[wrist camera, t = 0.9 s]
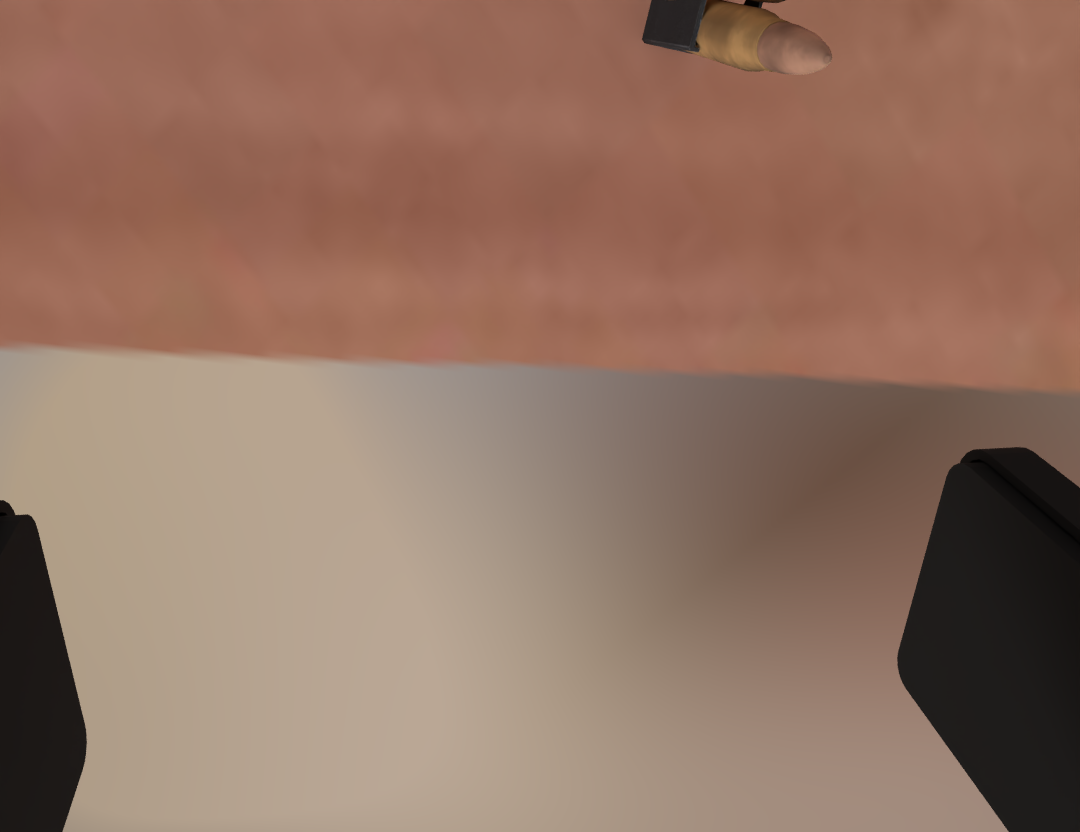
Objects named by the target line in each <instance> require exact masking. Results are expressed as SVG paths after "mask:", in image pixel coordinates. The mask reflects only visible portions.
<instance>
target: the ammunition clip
mask: <svg viewBox="0 0 1080 832" xmlns="http://www.w3.org/2000/svg"><path fill="white" fill-rule="evenodd" d="M782 1H785V0H746V1H745V3H744V5H742V4H737V3H732V2H727V1H722V0H652V1H651V5H650V9H649V13H648V17H647V21H646V25H645V29H644V34H643V38H642V40H643V41H644V43H647V44H651V45H655V46H660V47H664V48H669V49H673V50H677V51H682V52H686V53H691V54H696V55H699V56H702V57H705V58H708V59H711V60H714V61H717V62H720V63H723V64H726V65H729V66H732V67H735V68H738V69H741V70H745V71H764V70H765V71H770V72H779V73H783V74H795V75H803V74H810V73H814V72H817V71H820V70H822V69H824V68H825V67H826V66H828V65H829V64H830V62H831V60H832V54H831V51H830V49H829V47H828V46H827V45H826V43H825V42H824V41H823V40H822V39H821V38H820V37H819V36H818V35H817V34H815V33H813V32H811V31H809V30H807V29H805V28H803V27H801V26H799V25H796V24H792V23H790V22H788V21H785V20H782V19H780V18H779V17H778V16H777V15H776V14H774V13H772V12H770V11H768V10H766V9H763V8H761V7H762V3H763V2H768V3H779V2H782Z"/></svg>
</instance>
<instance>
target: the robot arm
mask: <svg viewBox="0 0 1080 832" xmlns="http://www.w3.org/2000/svg"><path fill="white" fill-rule="evenodd" d="M897 659H898V670H899V674H900V677H901V680H902V682H903V684H904V686H905V688H906V689H907V691H908V692H909V694H910V695H911V696H912V698H913V699H914V700H915V702H916V703H917V704H918V706H919V707H920V709H921V710H922V711H923V713H924V714H925V716H926V717H927V718H928V720H929V721H930V722H931V724H932V726H933V727H934V728H935V730H936V731H937V732H938V734H939V735H940V737H941V738H942V739H943V741H944V742H945V744H946V745H947V746H948V748H949V749H950V751H951V752H952V753H953V755H954V756H955V757H956V759H957V760H958V762H959V763H960V764H961V766H962V767H963V769H964V770H965V771H966V773H967V774H968V776H969V777H970V778H971V780H972V781H973V782H974V784H975V785H976V787H977V788H978V789H979V791H980V792H981V794H982V795H983V796H984V798H985V799H986V801H987V802H988V803H989V805H990V806H991V808H992V809H993V810H994V812H995V813H996V815H997V816H998V817H999V819H1000V820H1001V821H1002V823H1003V824H1004V826H1005V827H1006V828H1007V830H1008V831H1009V832H1080V488H1079V487H1078V486H1077V485H1075V484H1074V483H1073V482H1072V481H1070V480H1069V479H1068V478H1066V477H1065V476H1064V475H1063V474H1061V473H1060V472H1059V471H1057V470H1056V469H1055V468H1054V467H1052V466H1051V465H1050V464H1048V463H1047V462H1046V461H1045V460H1043V459H1042V458H1040V457H1039V456H1038V455H1037V454H1036V453H1034V452H1033V451H1031V450H1029V449H1027V448H1020V447H1014V448H997V449H996V448H995V449H976V450H972V451H970V452H968V453H967V454H966V455H965V456H964V457H963V458H962V460H961V462H960V463H958V464H956V465H954V466H953V467H952V468H951V469H950V470H949V472H948V475H947V477H946V481H945V485H944V488H943V491H942V495H941V499H940V502H939V506H938V509H937V513H936V517H935V520H934V524H933V528H932V531H931V535H930V539H929V542H928V546H927V550H926V553H925V557H924V560H923V564H922V567H921V571H920V575H919V578H918V582H917V586H916V590H915V593H914V597H913V600H912V604H911V607H910V611H909V615H908V619H907V622H906V626H905V629H904V633H903V637H902V640H901V644H900V647H899V651H898V657H897ZM86 744H87V741H86V728H85V723H84V719H83V715H82V711H81V707H80V702H79V698H78V694H77V690H76V686H75V682H74V678H73V673H72V669H71V665H70V661H69V657H68V653H67V649H66V645H65V640H64V636H63V632H62V628H61V624H60V620H59V616H58V612H57V607H56V603H55V599H54V595H53V591H52V587H51V583H50V578H49V575H48V570H47V566H46V562H45V558H44V554H43V550H42V546H41V541H40V537H39V533H38V529H37V526H36V523H35V521H34V520H33V518H32V517H31V516H30V515H15V513H14V510H13V509H12V507H11V506H10V504H9V503H7V502H5V501H4V500H2V501H1V500H0V832H62V831H63V828H64V825H65V822H66V819H67V816H68V813H69V810H70V807H71V804H72V801H73V798H74V795H75V791H76V788H77V785H78V782H79V779H80V776H81V773H82V770H83V766H84V762H85V756H86Z"/></svg>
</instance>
